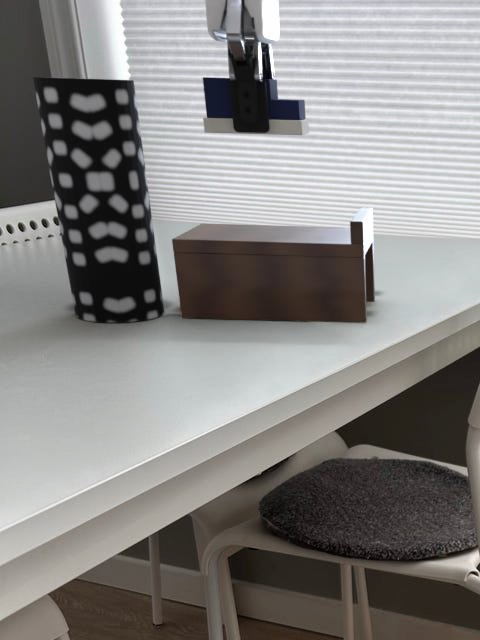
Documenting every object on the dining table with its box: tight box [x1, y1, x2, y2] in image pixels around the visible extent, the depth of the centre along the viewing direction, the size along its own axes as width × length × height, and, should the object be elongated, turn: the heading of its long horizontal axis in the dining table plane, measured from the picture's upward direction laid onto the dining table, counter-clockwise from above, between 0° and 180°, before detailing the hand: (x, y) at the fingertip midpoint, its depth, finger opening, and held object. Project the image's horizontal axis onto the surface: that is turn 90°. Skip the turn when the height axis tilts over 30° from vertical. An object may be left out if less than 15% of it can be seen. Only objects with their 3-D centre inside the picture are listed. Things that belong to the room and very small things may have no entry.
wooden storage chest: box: [171, 206, 376, 324], centre depth 96 cm, size 18×12×9 cm, turn 91°
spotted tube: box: [32, 76, 165, 324], centre depth 88 cm, size 8×8×20 cm
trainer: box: [202, 76, 310, 136], centre depth 88 cm, size 9×4×4 cm, turn 91°
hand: (257, 128), depth 89 cm, fingers closed on trainer, 4 cm apart
